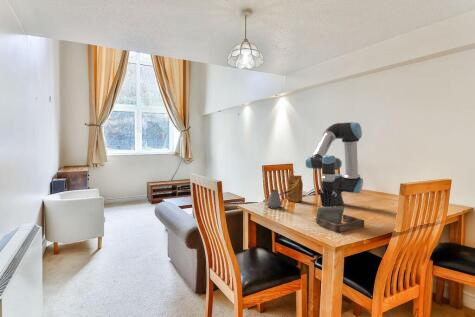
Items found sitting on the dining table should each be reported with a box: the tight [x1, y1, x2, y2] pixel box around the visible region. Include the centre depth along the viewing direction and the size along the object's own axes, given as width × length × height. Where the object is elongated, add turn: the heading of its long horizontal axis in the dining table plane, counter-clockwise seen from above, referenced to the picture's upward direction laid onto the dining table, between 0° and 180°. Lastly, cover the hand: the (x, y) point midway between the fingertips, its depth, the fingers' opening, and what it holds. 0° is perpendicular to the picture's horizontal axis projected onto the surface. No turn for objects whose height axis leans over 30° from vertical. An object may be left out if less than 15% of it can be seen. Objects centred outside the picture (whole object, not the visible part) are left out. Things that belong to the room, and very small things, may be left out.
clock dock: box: [318, 214, 365, 234], centre depth 149 cm, size 14×22×4 cm, turn 118°
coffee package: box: [286, 174, 304, 203], centre depth 216 cm, size 10×12×22 cm
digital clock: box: [315, 206, 345, 225], centre depth 154 cm, size 16×9×11 cm, turn 82°
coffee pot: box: [266, 189, 293, 209], centre depth 191 cm, size 21×12×15 cm, turn 46°
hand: (327, 218), depth 159 cm, fingers closed
